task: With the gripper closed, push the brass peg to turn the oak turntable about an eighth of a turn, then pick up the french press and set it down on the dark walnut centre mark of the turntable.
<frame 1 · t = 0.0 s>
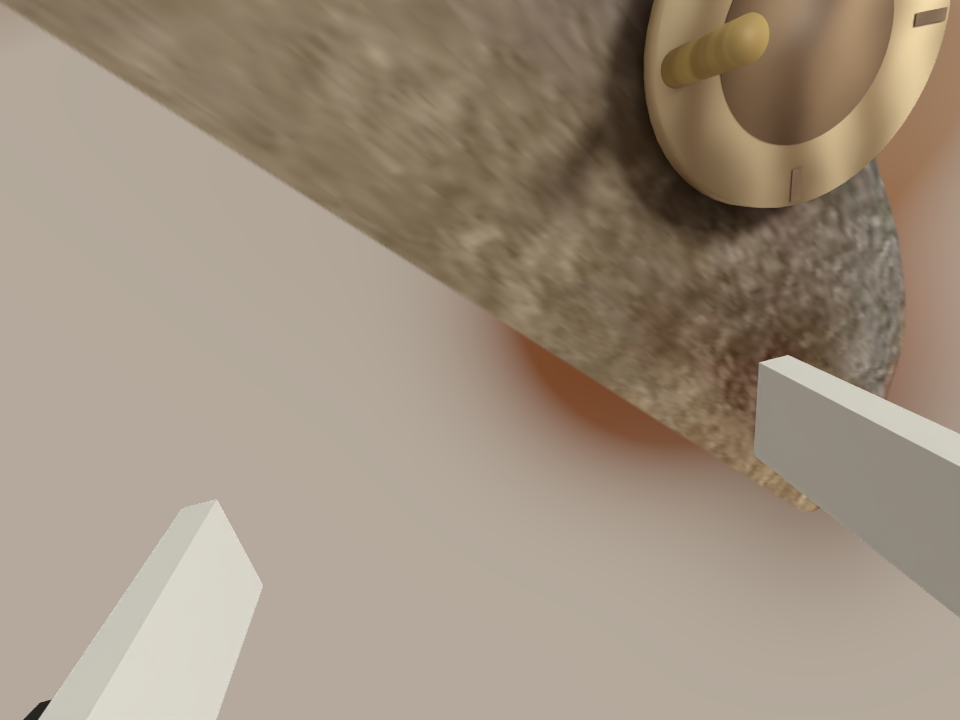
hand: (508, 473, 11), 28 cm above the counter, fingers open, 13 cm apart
turntable: (838, 31, 29), point 6 cm above the counter, hinge at 0.0°
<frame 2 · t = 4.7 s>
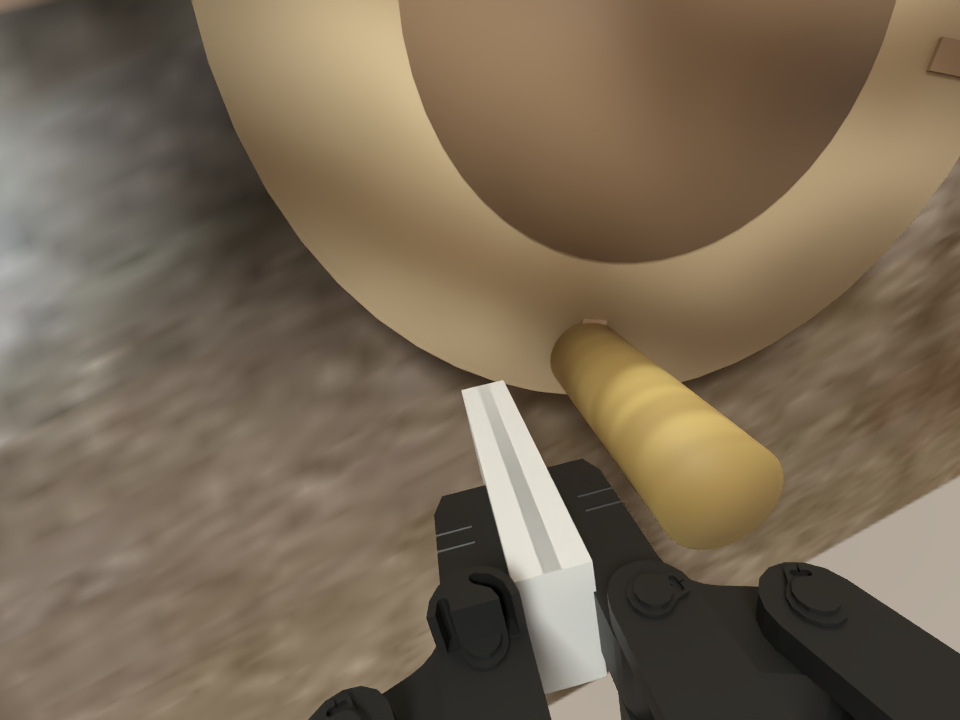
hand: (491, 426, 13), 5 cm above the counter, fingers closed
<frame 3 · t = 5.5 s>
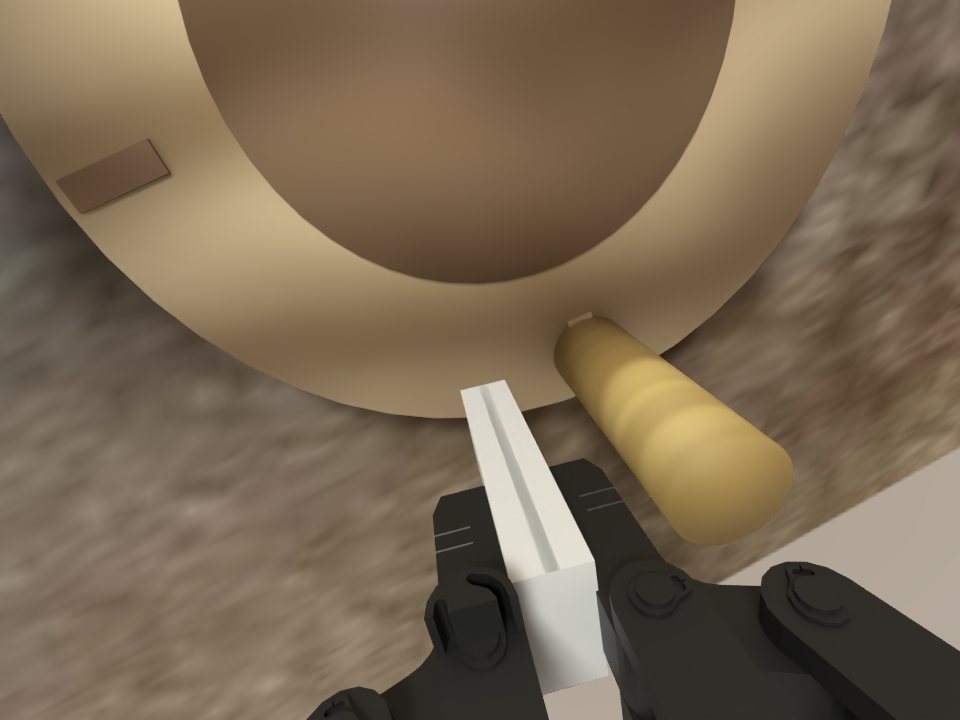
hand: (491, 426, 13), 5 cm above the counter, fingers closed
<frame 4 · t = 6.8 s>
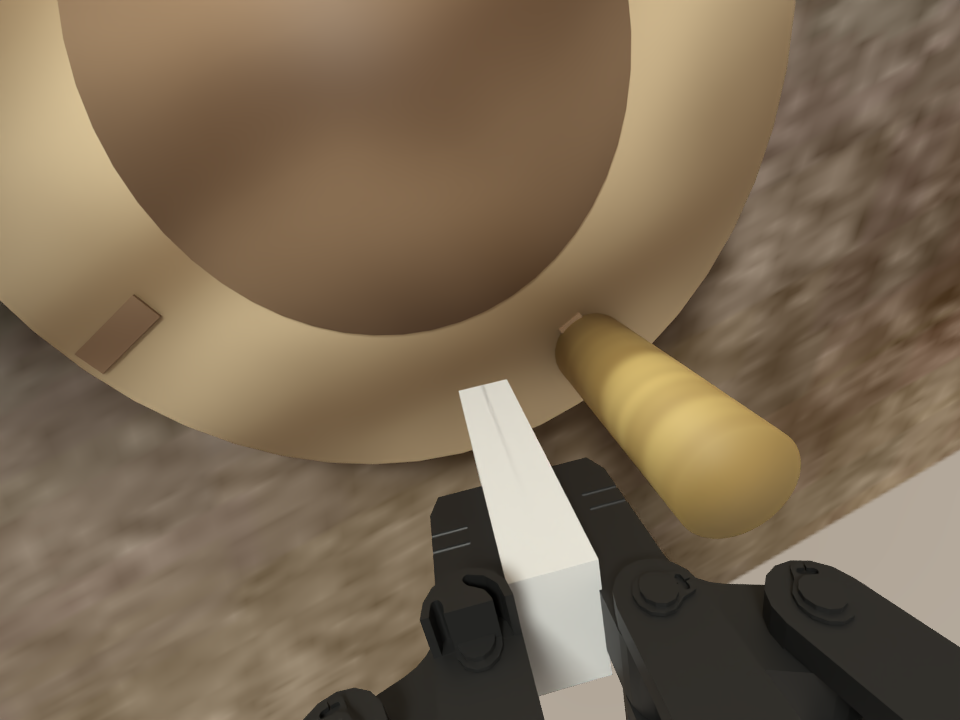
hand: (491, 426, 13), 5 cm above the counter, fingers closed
turntable: (364, 51, 9), point 6 cm above the counter, hinge at 51.8°, touching gripper
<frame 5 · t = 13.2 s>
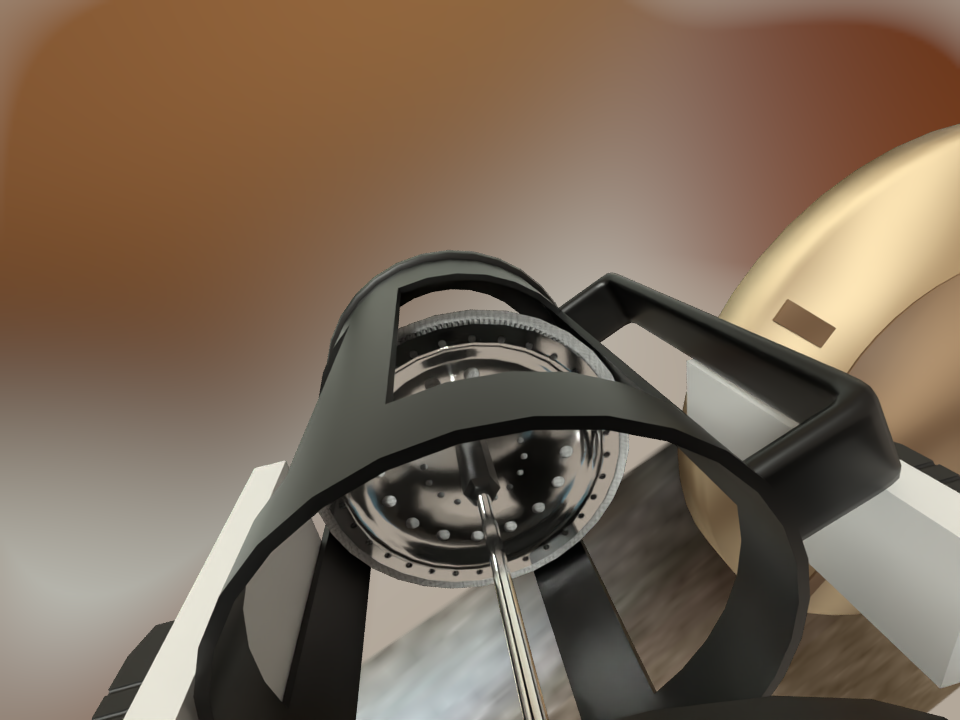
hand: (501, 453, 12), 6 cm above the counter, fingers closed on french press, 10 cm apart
french press: (463, 362, 18), on the counter, touching gripper
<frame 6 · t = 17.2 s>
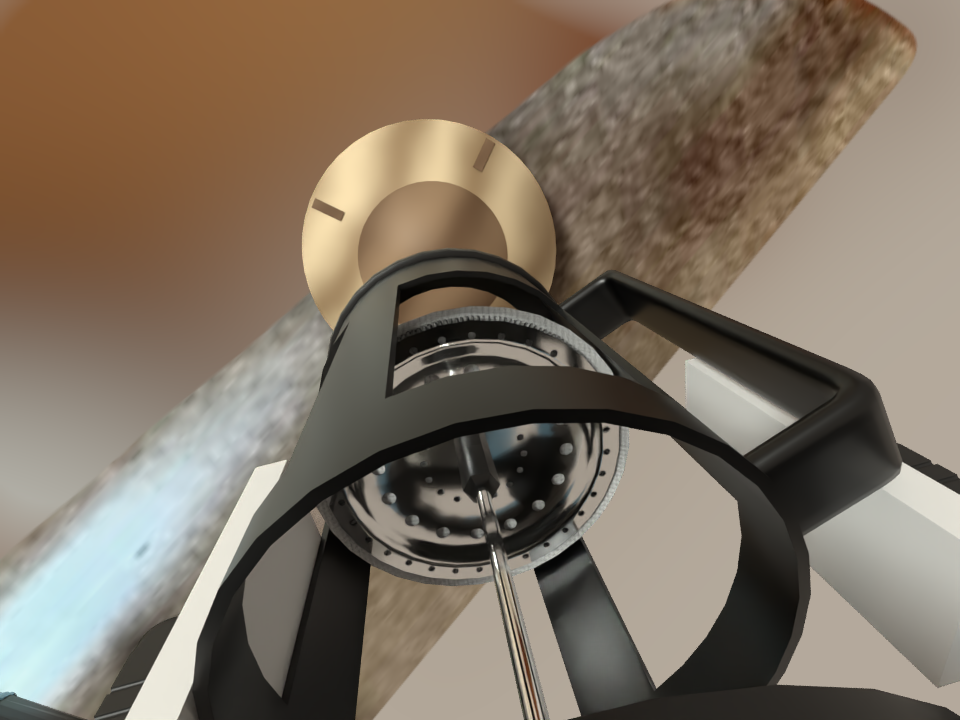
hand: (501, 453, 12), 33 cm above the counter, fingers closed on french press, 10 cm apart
french press: (463, 360, 18), point 27 cm above the counter, touching gripper
turntable: (436, 265, 37), point 6 cm above the counter, hinge at 51.8°
when the fingers open (11 cm above the counter, at t = 21.2 s): french press stays where it is, resting on turntable.
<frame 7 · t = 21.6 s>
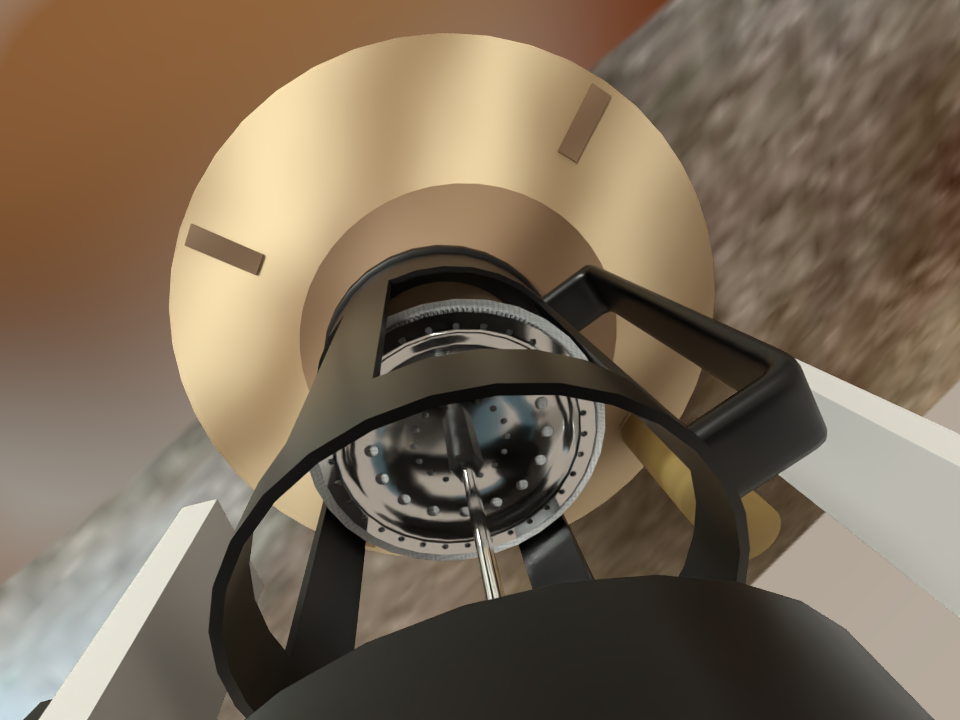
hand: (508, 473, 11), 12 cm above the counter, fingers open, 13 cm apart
french press: (453, 352, 19), point 3 cm above the counter, touching turntable
turntable: (474, 376, 16), point 6 cm above the counter, hinge at 51.8°, touching french press
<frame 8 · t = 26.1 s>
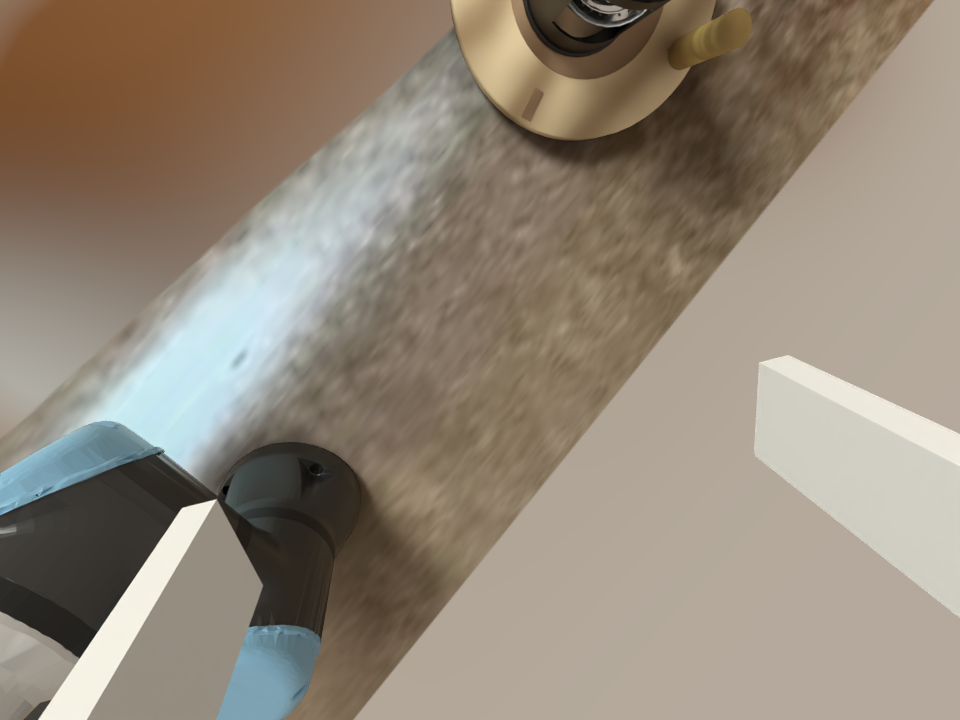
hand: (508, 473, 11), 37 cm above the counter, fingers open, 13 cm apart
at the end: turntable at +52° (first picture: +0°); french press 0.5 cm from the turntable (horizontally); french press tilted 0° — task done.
